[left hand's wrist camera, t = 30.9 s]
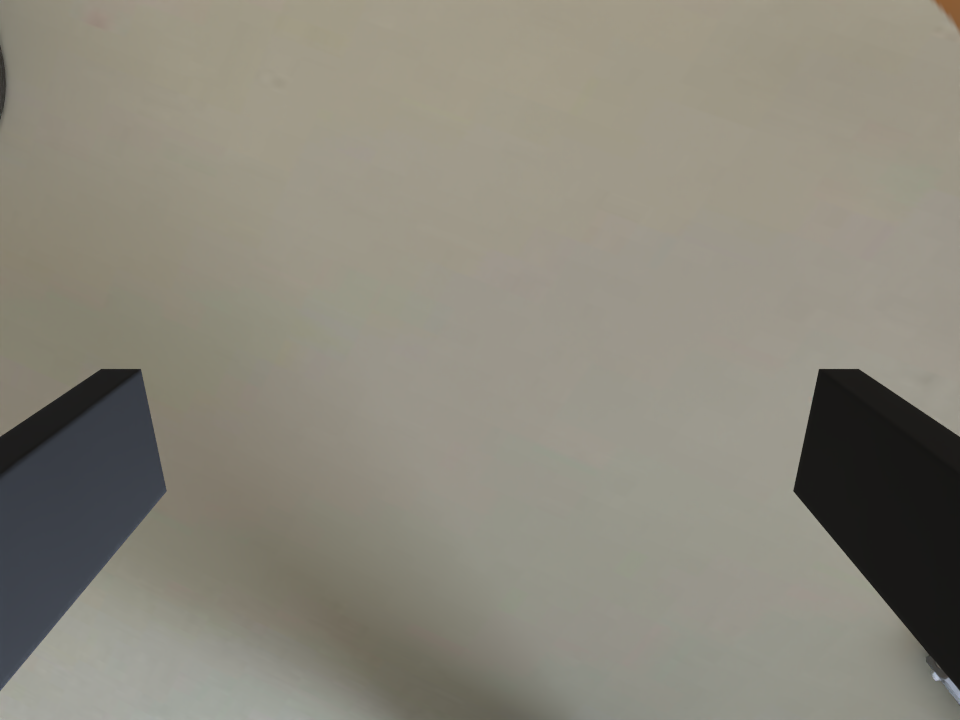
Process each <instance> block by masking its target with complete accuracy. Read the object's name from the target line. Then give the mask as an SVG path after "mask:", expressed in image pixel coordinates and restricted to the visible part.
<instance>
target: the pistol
mask: <svg viewBox="0 0 960 720" xmlns="http://www.w3.org/2000/svg"><path fill="white" fill-rule="evenodd" d="M926 661H927V663H928V664H929V666H930V667H931V668H932V670H931V672H930V673H931V675H932V677H933V679H934V680H935V681H939V680H941V681H942V683H943V684H944V685H945V687H946V688H947V689H948V691H949V692H950V693H951V694H952V696H953V697H954V698H955V700H956V701H957V702H958V704H959V705H960V691H959V689H958V688H957V687H956V686H955V685H954V683H953V682H952V681H951V680H950V679H949V677H948V676H947V675H946V674H945V673H944V671H943V670H942V669H941V668H940V667H939V665H938V664H937V663H936V662H935V661H934V659H933V658H932V657H931V656H930V655H929V656H927V657H926Z"/></svg>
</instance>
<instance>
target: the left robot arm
mask: <svg viewBox="0 0 960 720" xmlns="http://www.w3.org/2000/svg"><path fill="white" fill-rule="evenodd" d="M5 87H6V82H5V68H4V61H3V56H2V51H1V47H0V118H1V114H2V111H3V106H4V100H5ZM165 492H166V486H165V481H164V476H163V472H162V467H161V462H160V457H159V453H158V448H157V443H156V438H155V434H154V429H153V424H152V420H151V415H150V410H149V405H148V401H147V396H146V391H145V386H144V382H143V377H142V372H141V369H101V370H99V371H98V372H96V373H95V374H93V375H92V376H90V377H89V378H87V379H86V380H84V381H83V382H81V383H80V384H78V385H77V386H75V387H74V388H72V389H71V390H69V391H68V392H66V393H65V394H63V395H62V396H61V397H59V398H58V399H56V400H55V401H53V402H52V403H50V404H49V405H47V406H46V407H44V408H43V409H41V410H40V411H38V412H37V413H35V414H34V415H32V416H31V417H29V418H28V419H26V420H25V421H23V422H22V423H20V424H19V425H17V426H16V427H14V428H13V429H11V430H10V431H8V432H7V433H5V434H4V435H2V436H1V437H0V691H1V689H2V688H3V687H4V686H5V685H6V683H7V682H8V681H9V680H10V679H11V677H12V676H13V675H14V674H15V673H16V671H17V670H18V669H19V668H20V667H21V665H22V664H23V663H24V662H25V661H26V659H27V658H28V657H29V656H30V655H31V653H32V652H33V651H34V650H35V649H36V647H37V646H38V645H39V644H40V643H41V641H42V640H43V639H44V638H45V637H46V635H47V634H48V633H49V632H50V631H51V629H52V628H53V627H54V626H55V625H56V623H57V622H58V621H59V620H60V618H61V617H62V616H63V615H64V614H65V612H66V611H67V610H68V609H69V608H70V606H71V605H72V604H73V603H74V602H75V600H76V599H77V598H78V597H79V596H80V594H81V593H82V592H83V591H84V590H85V588H86V587H87V586H88V585H89V584H90V582H91V581H92V580H93V579H94V578H95V576H96V575H97V574H98V573H99V572H100V570H101V569H102V568H103V567H104V566H105V564H106V563H107V562H108V561H109V560H110V558H111V557H112V556H113V555H114V554H115V552H116V551H117V550H118V549H119V548H120V546H121V545H122V544H123V543H124V542H125V540H126V539H127V538H128V537H129V536H130V534H131V533H132V532H133V531H134V530H135V528H136V527H137V526H138V525H139V524H140V522H141V521H142V520H143V519H144V518H145V516H146V515H147V514H148V513H149V512H150V510H151V509H152V508H153V507H154V506H155V504H156V503H157V502H158V501H159V500H160V498H161V497H162V496H163V495H164V494H165ZM794 492H795V494H796V495H797V496H798V497H799V498H800V500H801V501H802V502H803V503H804V504H805V506H806V507H807V508H808V509H809V510H810V512H811V513H812V514H813V515H814V516H815V518H816V519H817V520H818V521H819V522H820V524H821V525H822V526H823V527H824V528H825V530H826V531H827V532H828V533H829V534H830V536H831V537H832V538H833V539H834V540H835V542H836V543H837V544H838V545H839V546H840V548H841V549H842V550H843V551H844V552H845V554H846V555H847V556H848V557H849V558H850V560H851V561H852V562H853V563H854V564H855V566H856V567H857V568H858V569H859V570H860V572H861V573H862V574H863V575H864V576H865V578H866V579H867V580H868V581H869V582H870V584H871V585H872V586H873V587H874V588H875V590H876V591H877V592H878V593H879V594H880V596H881V597H882V598H883V599H884V600H885V602H886V603H887V604H888V605H889V606H890V608H891V609H892V610H893V611H894V612H895V614H896V615H897V616H898V617H899V619H900V620H901V621H902V622H903V623H904V625H905V626H906V627H907V628H908V629H909V631H910V632H911V633H912V634H913V635H914V637H915V638H916V639H917V640H918V641H919V643H920V644H921V645H922V646H923V647H924V649H925V650H926V651H927V652H928V653H929V655H930V656H931V657H932V658H933V659H934V661H935V662H936V663H937V664H938V665H939V667H940V668H941V669H942V670H943V671H944V673H945V674H946V675H947V676H948V677H949V679H950V680H951V681H952V682H953V683H954V685H955V686H956V687H957V688H958V689H959V691H960V437H959V436H958V435H956V434H955V433H953V432H952V431H950V430H949V429H947V428H946V427H944V426H943V425H941V424H940V423H938V422H937V421H935V420H934V419H932V418H931V417H929V416H928V415H926V414H925V413H923V412H922V411H920V410H919V409H917V408H916V407H914V406H913V405H911V404H910V403H908V402H907V401H905V400H904V399H902V398H901V397H899V396H898V395H897V394H895V393H894V392H892V391H891V390H889V389H888V388H886V387H885V386H883V385H882V384H880V383H879V382H877V381H876V380H874V379H873V378H871V377H870V376H868V375H867V374H865V373H864V372H862V371H861V370H859V369H819V372H818V377H817V382H816V386H815V391H814V396H813V401H812V405H811V410H810V415H809V420H808V424H807V429H806V434H805V438H804V443H803V448H802V453H801V457H800V462H799V467H798V472H797V476H796V481H795V486H794Z"/></svg>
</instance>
